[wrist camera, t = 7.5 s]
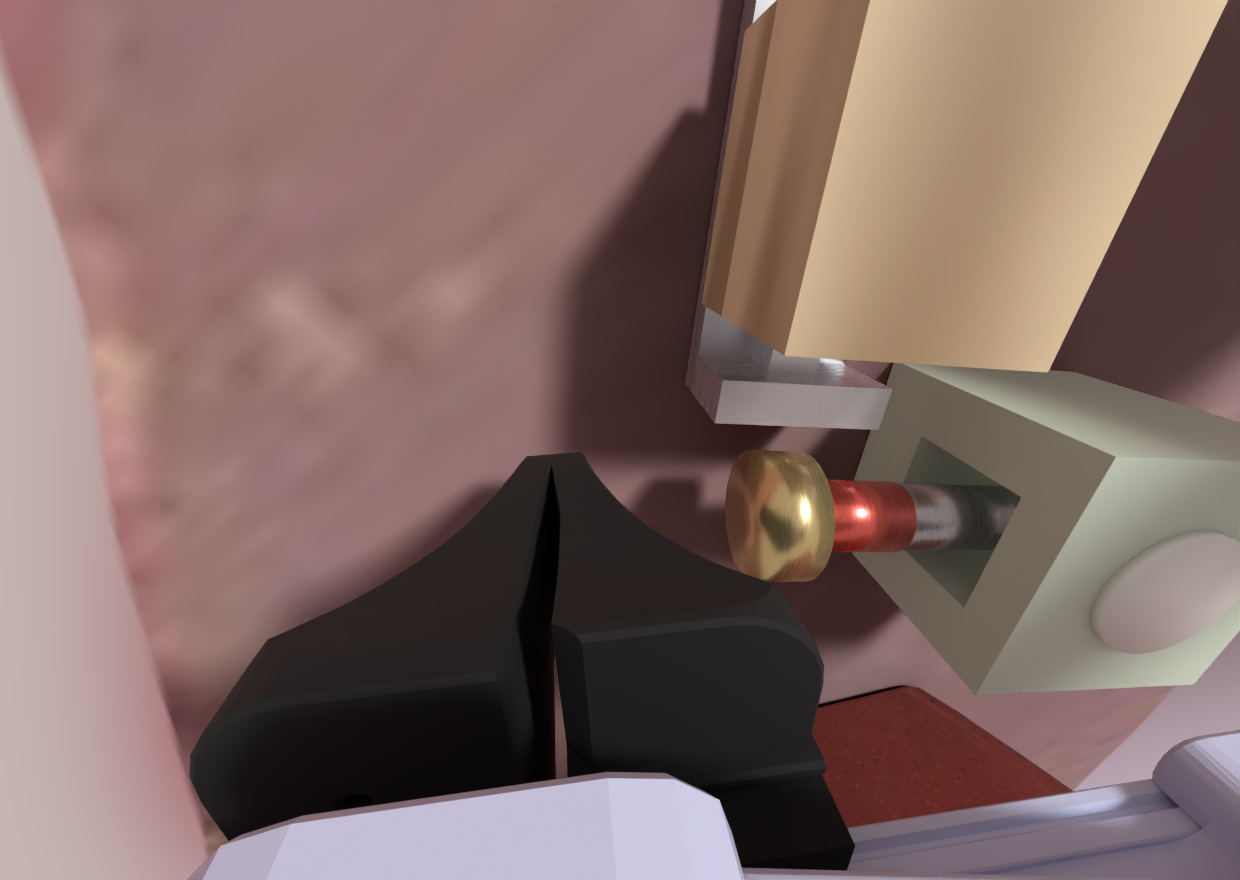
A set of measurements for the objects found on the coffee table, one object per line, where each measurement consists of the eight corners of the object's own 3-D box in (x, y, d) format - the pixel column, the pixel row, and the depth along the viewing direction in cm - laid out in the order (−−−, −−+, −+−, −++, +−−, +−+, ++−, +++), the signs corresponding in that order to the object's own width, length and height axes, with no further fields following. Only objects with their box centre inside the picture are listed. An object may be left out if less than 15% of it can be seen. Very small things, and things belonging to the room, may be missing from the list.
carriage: (957, 66, 10) (1248, -42, 6) (878, 317, 12) (1048, 372, 8) (744, 30, 9) (898, -119, 5) (701, 303, 11) (784, 355, 7)
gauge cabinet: (1074, 371, 14) (1406, 473, 9) (991, 534, 17) (1208, 695, 11) (894, 360, 14) (1134, 465, 8) (835, 533, 16) (986, 707, 10)
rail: (1092, -580, 7) (1376, -1002, 5) (819, 390, 14) (878, 429, 11) (850, -681, 7) (1028, -1223, 4) (684, 383, 13) (715, 423, 11)
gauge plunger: (981, 438, 13) (1095, 498, 10) (940, 531, 14) (1031, 607, 11) (739, 429, 12) (793, 493, 9) (717, 529, 13) (759, 612, 10)
